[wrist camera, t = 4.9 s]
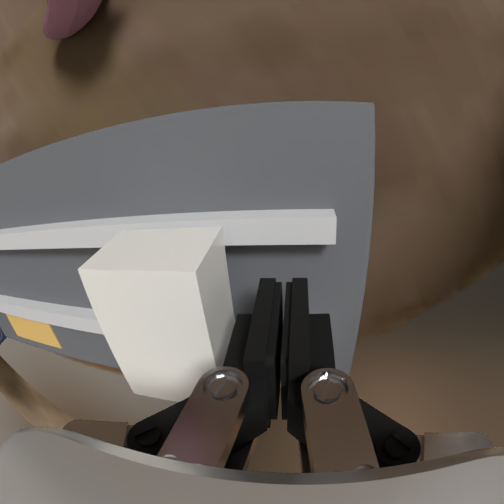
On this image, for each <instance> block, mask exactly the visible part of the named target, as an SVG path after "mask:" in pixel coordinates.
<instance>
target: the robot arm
mask: <svg viewBox="0 0 504 504" xmlns="http://www.w3.org/2000/svg"><path fill="white" fill-rule="evenodd" d="M280 383H281V400H282V420H288V421H287V431H288V432H289V433H290V434H291V435H293V436H294V437H295V438H296V439H297V440H298V450H299V457H300V465H301V473H275V472H274V473H273V472H257V471H247V468H248V466H249V463H250V460H251V457H252V454H253V451H254V449H255V446H256V442H257V437H258V436H259V435H261V434H262V433H264V432H265V431H267V428H270V423H271V419H277V415H278V405H279V394H280ZM0 504H504V448H494V447H493V443H492V441H491V439H490V438H489V437H488V436H487V435H485V434H484V433H480V432H464V433H425V434H424V435H423V436H422V435H415V434H414V433H413V432H412V431H410V430H409V429H407V428H406V427H404V426H402V425H401V424H399V423H397V422H396V421H394V420H392V419H391V418H389V417H388V416H386V415H385V414H383V413H381V412H380V411H378V410H377V409H375V408H374V407H372V406H370V405H369V404H367V403H366V402H364V401H363V400H361V399H359V398H358V395H357V392H356V389H355V386H354V383H353V381H352V379H351V378H350V377H349V376H348V375H347V374H346V373H345V372H343V371H340V370H338V369H336V367H335V357H334V347H333V338H332V329H331V321H330V314H329V313H325V314H309V300H308V279H307V278H292V282H286V293H285V308H284V321H283V302H282V282H276V278H260V281H259V286H258V291H257V295H256V300H255V305H254V310H253V314H238V315H237V317H236V320H235V324H234V328H233V331H232V335H231V338H230V342H229V346H228V349H227V353H226V356H225V360H224V364H223V366H222V367H216V368H213V369H211V370H209V371H207V372H206V373H204V374H203V375H202V376H201V378H200V379H199V381H198V382H197V384H196V386H195V388H194V390H193V392H192V393H191V395H190V397H188V398H186V399H184V400H182V401H180V402H178V403H176V404H174V405H173V406H170V407H168V408H166V409H165V410H162V411H160V412H158V413H156V414H154V415H152V416H150V417H148V418H146V419H144V420H142V421H140V422H138V423H136V424H135V425H129V424H128V422H108V421H93V420H82V419H77V420H73V421H70V422H68V423H67V424H66V425H65V426H64V428H63V429H59V428H53V427H29V428H24V429H20V430H18V431H16V432H15V433H13V434H12V435H11V436H10V437H9V438H8V439H7V440H6V441H5V443H4V444H3V445H2V447H1V448H0Z"/></svg>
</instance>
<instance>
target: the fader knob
mask: <svg viewBox="0 0 504 504" xmlns="http://www.w3.org/2000/svg"><path fill="white" fill-rule="evenodd" d="M78 272H79V275H80V277H81V280H82V283H83V285H84V288H85V291H86V293H87V296H88V298H89V301H90V303H91V306H92V308H93V311H94V313H95V315H96V318H97V320H98V322H99V325H100V327H101V329H102V331H103V334H104V336H105V338H106V340H107V342H108V344H109V346H110V349H111V351H112V353H113V355H114V357H115V359H116V361H117V363H118V365H119V367H120V369H121V370H122V372H123V374H124V376H125V378H126V380H127V382H128V383H129V385H130V387H131V389H132V391H133V393H134V394H138V395H143V396H148V397H153V398H158V399H163V400H170V401H175V402H180V401H182V400H184V399H186V398H188V397H190V395H191V393H192V392H193V390H194V388H195V386H196V384H197V382H198V381H199V379H200V378H201V376H202V375H203V374H204V373H206V372H207V371H209V370H211V369H213V368H216V367H222V366H223V364H224V360H225V356H226V353H227V349H228V346H229V342H230V338H231V335H232V331H233V328H234V324H235V318H234V311H233V304H232V297H231V290H230V282H229V275H228V268H227V260H226V253H225V245H224V237H223V229H222V227H191V228H165V229H141V230H122V231H121V232H120V233H119V234H117V235H116V236H115V237H114V238H113V239H112V240H110V241H109V242H108V243H107V244H106V245H104V246H103V247H102V248H101V249H100V250H99V251H97V252H96V253H95V254H94V255H93V256H92V257H91V258H90V259H88V260H87V261H86V262H85V263H84V264H83V265H82V266H81V267H79V268H78Z"/></svg>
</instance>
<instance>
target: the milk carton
mask: <svg viewBox="0 0 504 504" xmlns="http://www.w3.org/2000/svg"><path fill="white" fill-rule="evenodd" d="M5 339H6V336H5V335H4V333H3V331H2V329H1V327H0V344H1V343H2V342H3V341H4V340H5Z"/></svg>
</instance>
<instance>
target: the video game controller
mask: <svg viewBox="0 0 504 504" xmlns="http://www.w3.org/2000/svg"><path fill="white" fill-rule="evenodd" d="M101 1H102V0H47V10H46V15H45V19H44V23H43V32H44V34H45V36H46V37H48V38H50V39H63V38H68V37H69V36H71V35H73V34H75V33H76V32H78V31H79V30H80V29H81V28H83V27H84V26H85V25H86V24H87V23H88V22H89V21H90V20H91V19H92V17H93V16H94V14H95V13H96V11H97V9H98V7H99V5H100V3H101Z"/></svg>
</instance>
